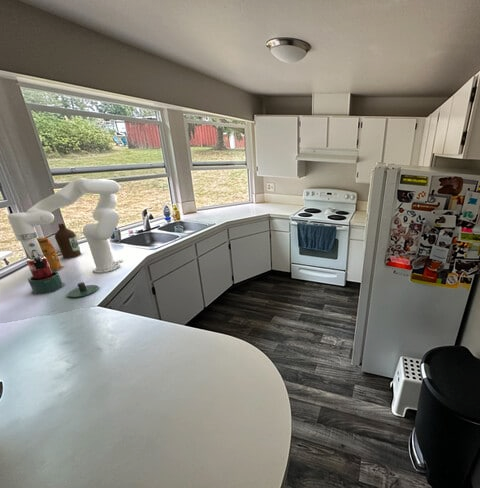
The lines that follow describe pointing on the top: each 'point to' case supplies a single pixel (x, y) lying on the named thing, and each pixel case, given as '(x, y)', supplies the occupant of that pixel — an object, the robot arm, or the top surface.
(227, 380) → the top surface
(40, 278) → the soda can
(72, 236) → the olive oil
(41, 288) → the pot
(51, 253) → the coffee package
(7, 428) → the top surface
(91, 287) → the lid
